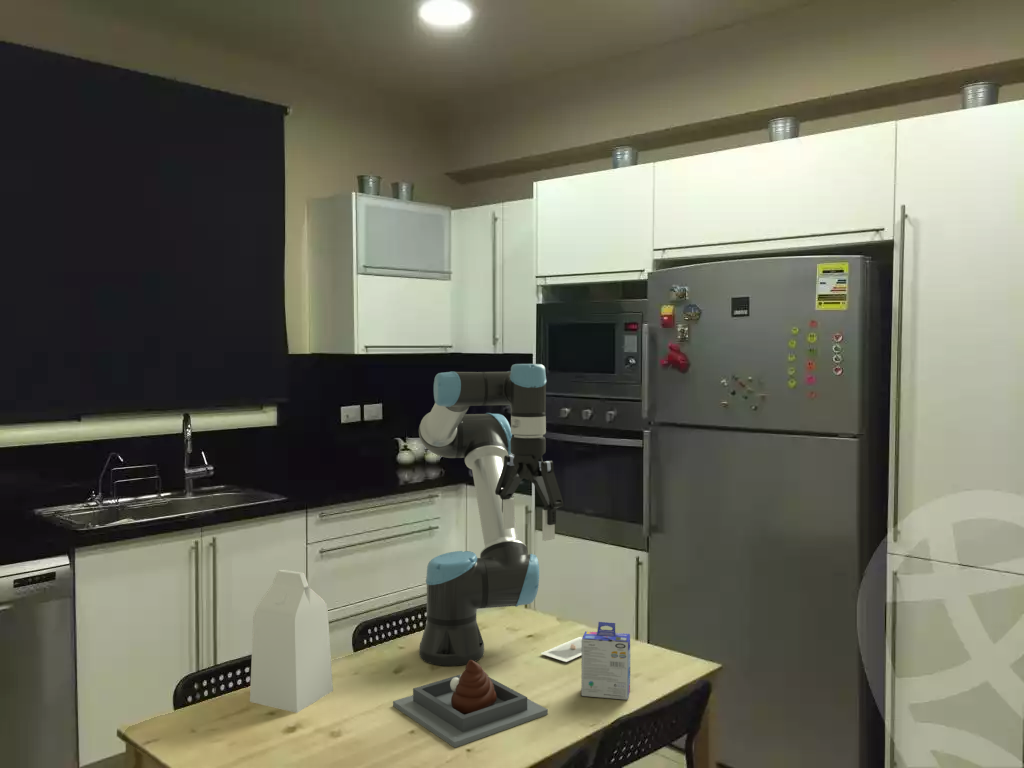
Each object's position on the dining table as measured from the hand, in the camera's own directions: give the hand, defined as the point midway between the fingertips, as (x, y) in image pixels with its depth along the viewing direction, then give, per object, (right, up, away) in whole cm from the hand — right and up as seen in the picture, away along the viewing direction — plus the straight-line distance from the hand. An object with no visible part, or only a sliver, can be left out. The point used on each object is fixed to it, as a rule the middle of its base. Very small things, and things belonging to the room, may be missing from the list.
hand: (527, 534), depth 179 cm
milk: (-49, -32, -8) cm, 59 cm away
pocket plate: (-12, -32, -14) cm, 37 cm away
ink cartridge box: (+16, -32, -6) cm, 37 cm away
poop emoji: (-11, -32, -14) cm, 36 cm away
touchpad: (+11, -32, +18) cm, 38 cm away
